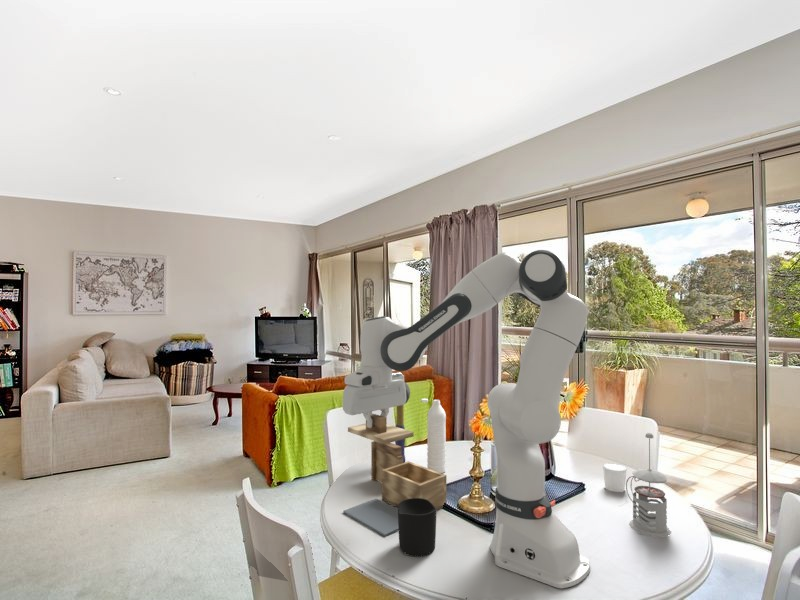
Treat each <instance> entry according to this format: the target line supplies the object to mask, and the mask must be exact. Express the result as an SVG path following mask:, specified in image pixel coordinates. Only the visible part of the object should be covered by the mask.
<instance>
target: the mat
mask: <svg viewBox="0 0 800 600" xmlns="http://www.w3.org/2000/svg"><path fill="white" fill-rule="evenodd" d="M342 513H343V514H345V515H347V516H348V517H350V518H352V519H353V520H355V521H357V522H359V523H360V524H362V525H363V526H366V527H367V528H369V529H370V530H372V531H374V532H376V533H378V534H380V536H382V537H384V538H386V537H388V536H390V535H392V534H394V533H398V532H399V528H398V507H396V506H393V505H391V504H389V503H387V502H385V501H383V500H382V499H381V500H380V499H378V498H374V499H373V498H372V499H371V500H368V501H365V502H363V503H361V504H358V505H355V506H352V507H349V508H347V509H344V510H343V511H342Z"/></svg>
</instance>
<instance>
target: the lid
mask: <svg viewBox="0 0 800 600" xmlns="http://www.w3.org/2000/svg"><path fill="white" fill-rule="evenodd" d="M380 415H381V414H380ZM380 415H379V414H376V413H373V412H372V415H370V416H371V419H372V420H374V421H375V427H372V428H368V427H367V420H366V419H365V423H362V424H357V425H352V426H348V427H347V432H349V433H351V434H353V435H356V436H360V437H363V438H365V439H367V440H371V441H372V442H373V441H376V442H379V443H382V444H387V443H395V441H398V440H402V439H405V440H406V439H409V438H413V437H414V433H415V432H414V431H411V430H407V429H406V428H405V429H402V428H398V427H396V425H391V424H387V423H388V422H387V417H384V416H380Z"/></svg>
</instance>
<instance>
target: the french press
mask: <svg viewBox="0 0 800 600" xmlns="http://www.w3.org/2000/svg"><path fill="white" fill-rule="evenodd" d="M645 438H647V439H648V440H649V441H648V454H649V455H648V468H639V469H636V470H634V471H633V472H632V475H631V476H629V477H628V478H627V479H626V480H625V490H626V494H627V496H628V498H629V500H630V501H631V502H632V520H630V521H629V522H628V525H629V528H631V529H632V531H635V532H636V533H638V534H640V535H644V536H647V537H651V538H658V539H659V538H660V537H662V538H668V537H669V536H668V535H670V534H671V535H672V531H671V530H669V529H670V528H669V526H668V525H667V521H668V520H667V519H668V517H667V514H668V513H667V509H668V506H667V504H668V503H667V502H668V500H667V498H666V493H665V492H664V490H662V489H659V488H657V487H654V486H651V484H664V483H666V482H667V481H668V477H667V476H666V475H664V474H663V473H661V472H660V471H658V470H656V469H651V439H654V435H653V433H651V432H647V433H645ZM630 479H631V480H630ZM629 480H630V490H631V494H632V498H631V496H630V494H629V492H628V491H629V490H628V481H629ZM633 480H634V482H639V481H642V482H645V483H648V485H637V486H636V487H634V491H635V492H633V488H632V485H633V484H632V481H633ZM637 494H638V495H637ZM637 496H638V497H637ZM658 499H659V500H658ZM649 512H651V513H649ZM671 535H670V536H671ZM667 536H668V537H667Z"/></svg>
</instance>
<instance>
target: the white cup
mask: <svg viewBox="0 0 800 600" xmlns="http://www.w3.org/2000/svg"><path fill="white" fill-rule="evenodd" d="M602 469H603V477H604V478H603V479H604V488H605V489H606V490H607V491H609V492H613V493H623V492H625V490H626V481H627V479H626V478H627V467H626V466H625V465H622V464H618V463H614V462H613V463H612V462H611V463H610V462H608V463H604V464H603V465H602Z"/></svg>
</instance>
